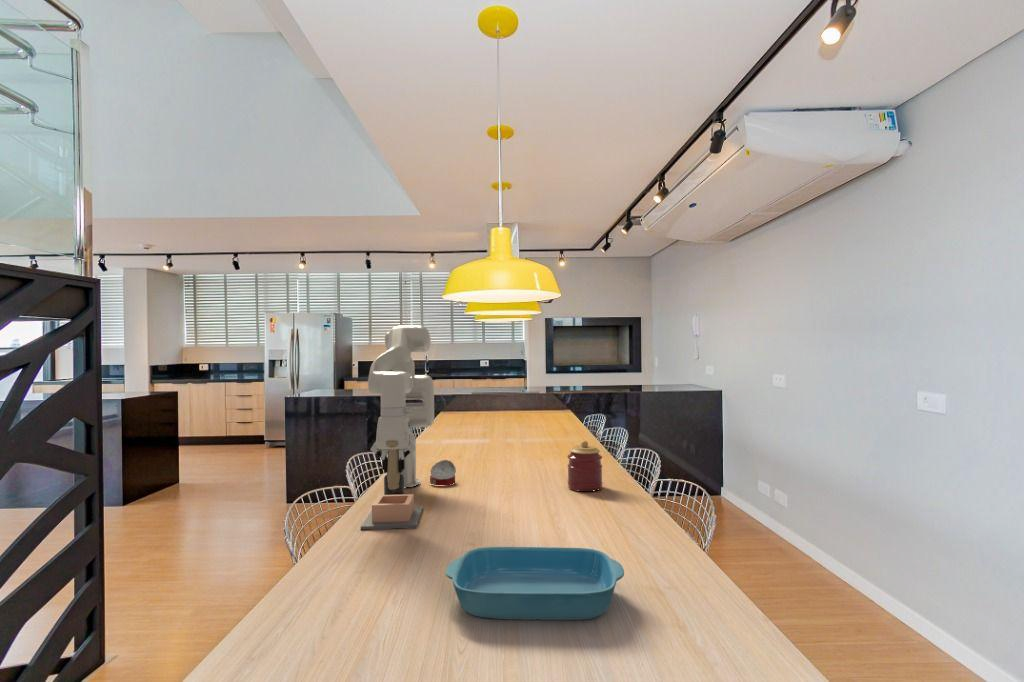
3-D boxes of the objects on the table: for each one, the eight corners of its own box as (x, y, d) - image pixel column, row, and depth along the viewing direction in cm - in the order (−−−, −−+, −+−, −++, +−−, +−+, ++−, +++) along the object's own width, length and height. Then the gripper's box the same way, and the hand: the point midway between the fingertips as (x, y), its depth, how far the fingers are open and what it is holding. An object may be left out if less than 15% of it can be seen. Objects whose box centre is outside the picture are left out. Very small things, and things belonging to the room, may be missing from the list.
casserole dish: (435, 626, 97) (435, 588, 97) (456, 574, 120) (456, 543, 120) (632, 631, 95) (632, 592, 95) (616, 578, 117) (616, 546, 117)
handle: (402, 485, 162) (402, 438, 163) (399, 491, 156) (399, 441, 156) (387, 486, 162) (387, 438, 162) (383, 491, 156) (383, 442, 156)
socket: (373, 510, 168) (373, 492, 168) (423, 509, 169) (422, 491, 169) (360, 530, 150) (360, 509, 150) (416, 528, 151) (416, 507, 151)
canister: (564, 491, 189) (564, 443, 189) (571, 482, 201) (570, 437, 201) (600, 494, 185) (599, 444, 185) (604, 484, 197) (604, 438, 198)
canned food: (455, 493, 204) (465, 472, 202) (438, 497, 195) (449, 474, 194) (436, 477, 210) (447, 456, 208) (419, 479, 201) (430, 457, 200)
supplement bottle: (406, 498, 181) (406, 464, 181) (400, 504, 174) (400, 469, 174) (387, 498, 182) (387, 464, 182) (381, 504, 175) (380, 468, 175)
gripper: (421, 411, 164) (422, 468, 164) (368, 411, 163) (368, 469, 163) (418, 413, 156) (419, 474, 156) (363, 414, 155) (363, 475, 155)
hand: (393, 471), depth 159 cm, fingers closed on handle, 3 cm apart
